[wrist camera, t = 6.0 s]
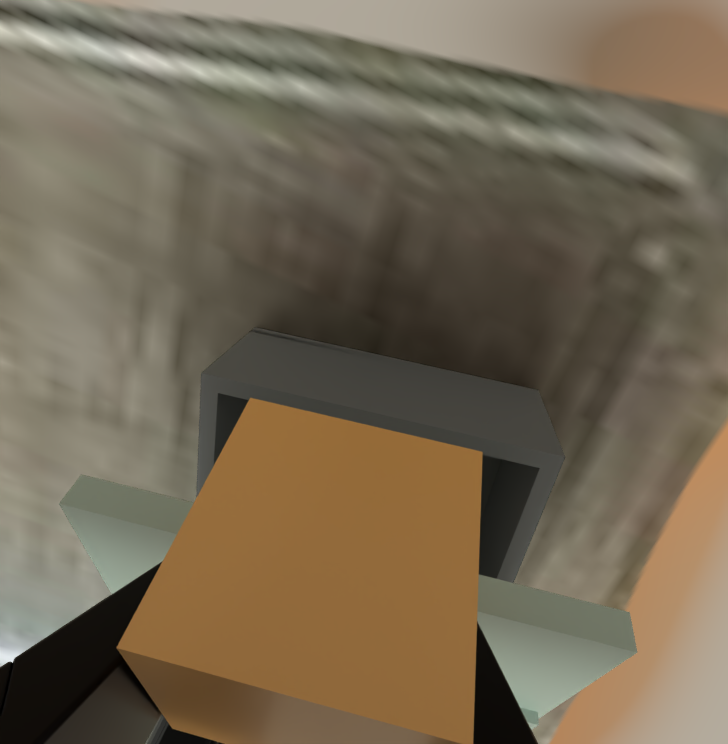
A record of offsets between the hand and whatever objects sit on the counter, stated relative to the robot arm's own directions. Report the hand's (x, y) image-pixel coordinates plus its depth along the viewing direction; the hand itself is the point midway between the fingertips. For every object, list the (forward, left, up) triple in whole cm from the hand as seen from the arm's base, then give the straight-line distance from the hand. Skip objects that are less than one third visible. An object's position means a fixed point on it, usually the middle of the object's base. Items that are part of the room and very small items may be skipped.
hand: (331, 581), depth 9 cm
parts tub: (-8, 0, -12) cm, 15 cm away
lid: (-7, 0, -4) cm, 8 cm away
